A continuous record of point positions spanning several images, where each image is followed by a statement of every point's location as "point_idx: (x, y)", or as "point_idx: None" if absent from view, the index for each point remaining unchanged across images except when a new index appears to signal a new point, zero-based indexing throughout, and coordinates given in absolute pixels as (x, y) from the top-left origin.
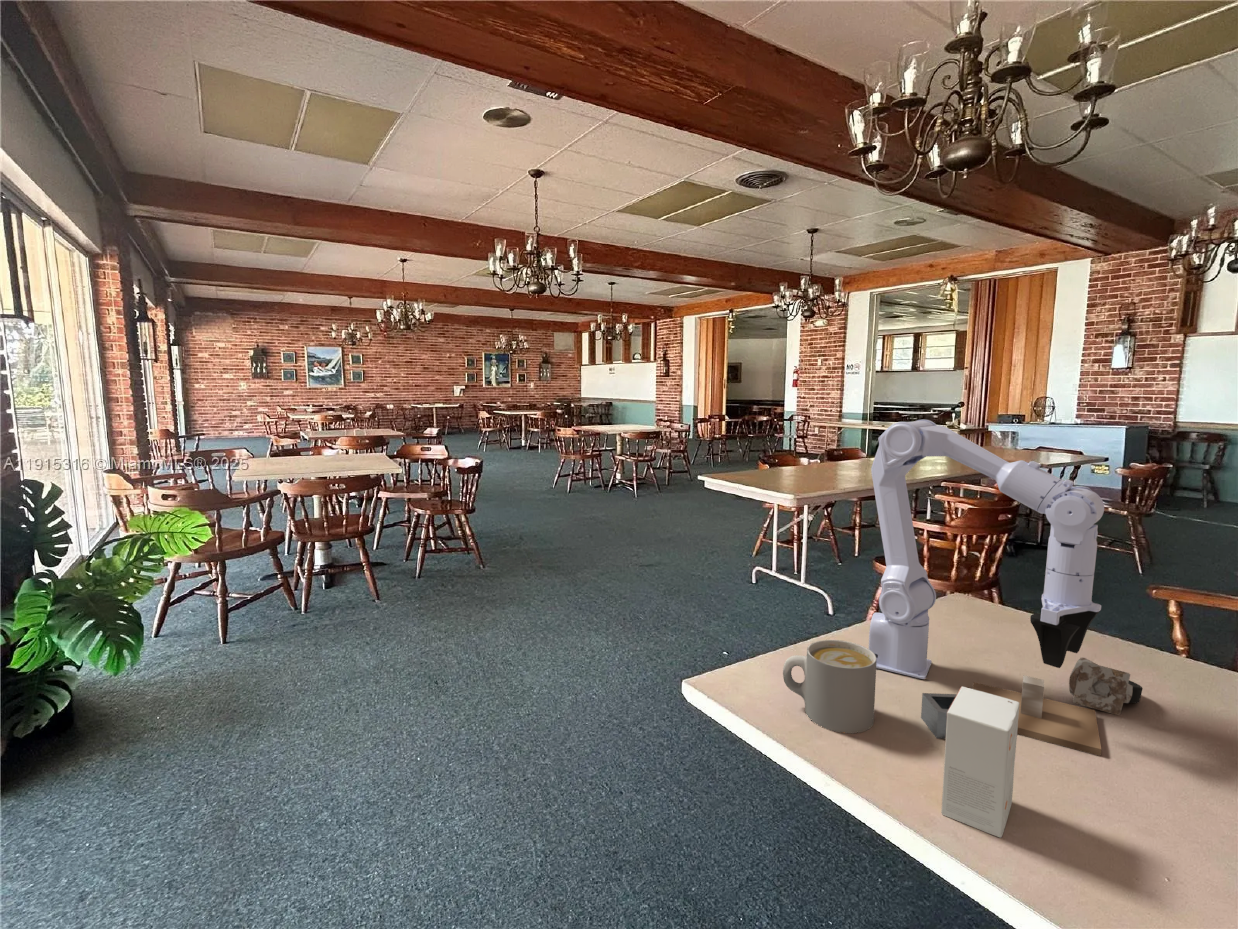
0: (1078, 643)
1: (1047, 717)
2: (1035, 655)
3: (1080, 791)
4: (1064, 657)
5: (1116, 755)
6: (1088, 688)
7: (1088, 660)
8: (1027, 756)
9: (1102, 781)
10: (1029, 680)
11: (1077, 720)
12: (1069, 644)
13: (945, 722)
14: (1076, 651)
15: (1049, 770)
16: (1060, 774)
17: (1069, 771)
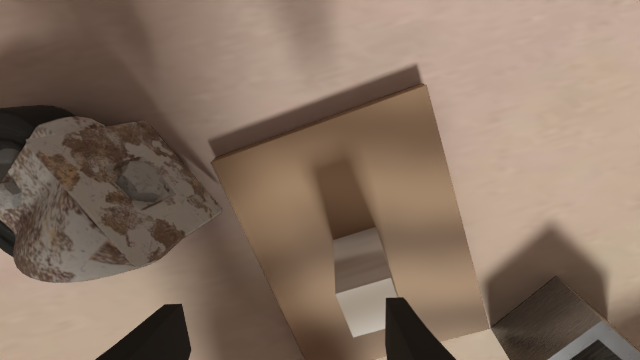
0: (158, 336)
1: (357, 220)
2: (2, 347)
3: (629, 62)
4: (407, 323)
5: (383, 60)
6: (172, 204)
7: (51, 261)
8: (549, 187)
9: (545, 43)
10: (378, 316)
11: (310, 171)
12: (172, 351)
13: (628, 341)
14: (178, 311)
15: (579, 137)
16: (580, 116)
17: (551, 107)
